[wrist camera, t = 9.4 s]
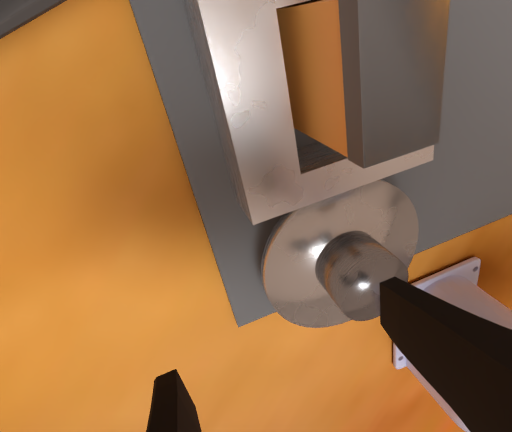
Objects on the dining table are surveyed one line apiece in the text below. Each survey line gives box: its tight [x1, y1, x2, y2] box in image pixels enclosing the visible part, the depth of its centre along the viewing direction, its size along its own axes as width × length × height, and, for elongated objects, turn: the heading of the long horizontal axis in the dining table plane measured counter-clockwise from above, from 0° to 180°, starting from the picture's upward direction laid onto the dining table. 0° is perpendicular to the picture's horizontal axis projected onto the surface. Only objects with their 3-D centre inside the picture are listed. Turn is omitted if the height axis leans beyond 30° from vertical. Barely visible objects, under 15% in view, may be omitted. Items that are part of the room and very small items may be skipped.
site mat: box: [129, 0, 512, 327], centre depth 19 cm, size 24×24×1 cm
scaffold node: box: [183, 0, 434, 328], centre depth 16 cm, size 26×10×5 cm, turn 12°
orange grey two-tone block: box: [276, 0, 451, 169], centre depth 14 cm, size 5×3×7 cm, turn 11°
